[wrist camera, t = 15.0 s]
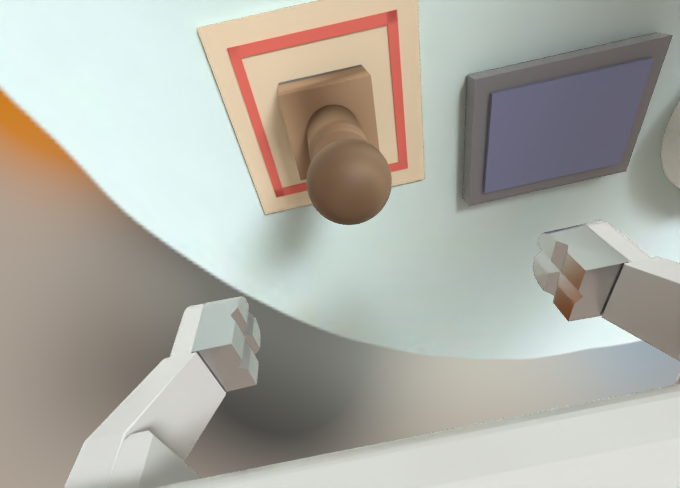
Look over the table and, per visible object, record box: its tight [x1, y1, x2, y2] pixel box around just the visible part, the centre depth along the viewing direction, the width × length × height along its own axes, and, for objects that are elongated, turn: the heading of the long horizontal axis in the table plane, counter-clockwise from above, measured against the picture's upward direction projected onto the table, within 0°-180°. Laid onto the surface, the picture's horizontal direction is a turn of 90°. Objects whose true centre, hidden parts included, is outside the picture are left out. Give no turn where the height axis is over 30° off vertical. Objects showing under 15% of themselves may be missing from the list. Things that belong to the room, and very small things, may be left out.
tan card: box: [197, 0, 425, 214], centre depth 23 cm, size 12×12×1 cm
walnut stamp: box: [278, 65, 392, 225], centre depth 18 cm, size 5×5×11 cm
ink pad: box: [463, 33, 672, 206], centre depth 24 cm, size 12×9×2 cm
